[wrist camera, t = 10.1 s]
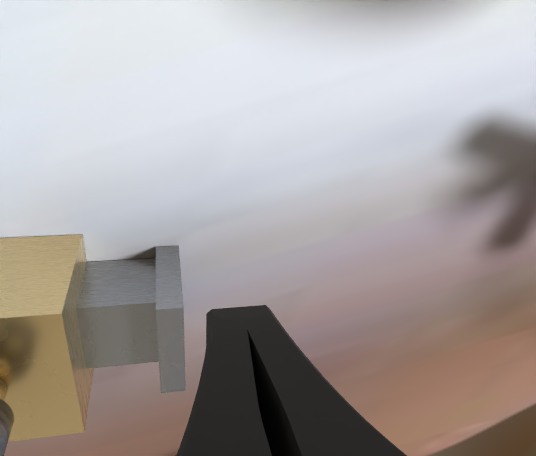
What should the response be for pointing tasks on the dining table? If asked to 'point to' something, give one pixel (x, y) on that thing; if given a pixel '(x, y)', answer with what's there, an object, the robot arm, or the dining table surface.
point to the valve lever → (5, 425)
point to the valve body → (81, 327)
